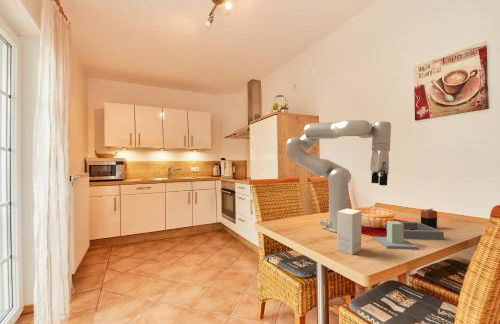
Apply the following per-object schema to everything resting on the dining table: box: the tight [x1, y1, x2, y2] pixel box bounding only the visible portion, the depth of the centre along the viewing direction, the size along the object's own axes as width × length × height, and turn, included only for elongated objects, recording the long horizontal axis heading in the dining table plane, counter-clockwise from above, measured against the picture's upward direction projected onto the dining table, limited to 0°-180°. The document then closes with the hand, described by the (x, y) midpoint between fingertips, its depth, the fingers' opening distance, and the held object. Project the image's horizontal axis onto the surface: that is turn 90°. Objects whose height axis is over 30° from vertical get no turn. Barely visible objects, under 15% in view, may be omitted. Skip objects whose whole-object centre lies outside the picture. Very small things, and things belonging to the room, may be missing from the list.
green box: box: [386, 220, 405, 243], centre depth 100 cm, size 4×4×8 cm
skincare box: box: [336, 208, 363, 256], centre depth 92 cm, size 8×7×16 cm
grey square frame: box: [384, 221, 445, 241], centre depth 115 cm, size 18×18×4 cm
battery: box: [420, 208, 438, 229], centre depth 126 cm, size 4×7×10 cm, turn 108°
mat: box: [373, 236, 420, 250], centre depth 100 cm, size 12×12×1 cm
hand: (378, 184), depth 111 cm, fingers open, 9 cm apart
